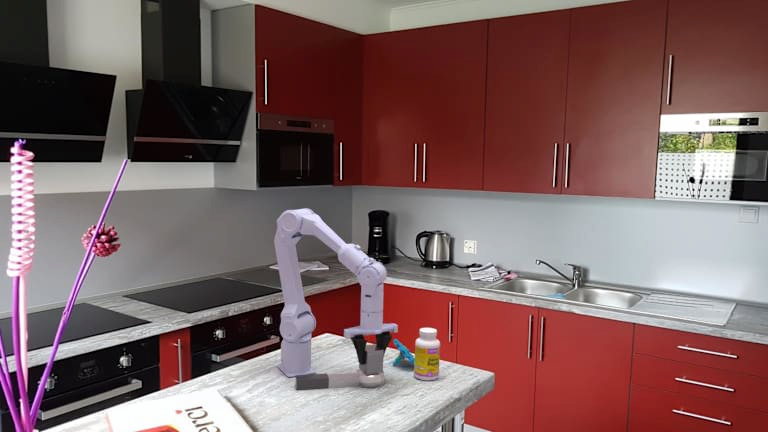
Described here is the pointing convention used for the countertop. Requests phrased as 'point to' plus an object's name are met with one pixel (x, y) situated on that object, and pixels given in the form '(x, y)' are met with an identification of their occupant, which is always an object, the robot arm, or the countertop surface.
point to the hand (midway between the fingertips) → (370, 362)
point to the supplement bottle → (427, 355)
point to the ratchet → (339, 380)
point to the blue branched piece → (403, 353)
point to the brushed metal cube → (372, 360)
